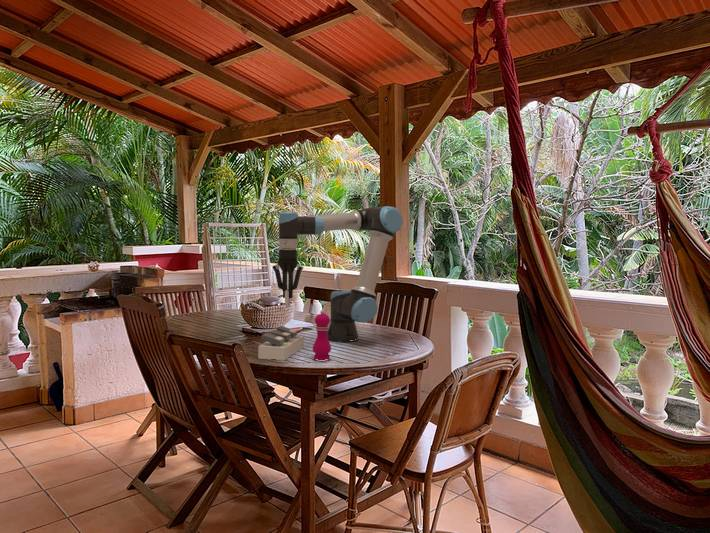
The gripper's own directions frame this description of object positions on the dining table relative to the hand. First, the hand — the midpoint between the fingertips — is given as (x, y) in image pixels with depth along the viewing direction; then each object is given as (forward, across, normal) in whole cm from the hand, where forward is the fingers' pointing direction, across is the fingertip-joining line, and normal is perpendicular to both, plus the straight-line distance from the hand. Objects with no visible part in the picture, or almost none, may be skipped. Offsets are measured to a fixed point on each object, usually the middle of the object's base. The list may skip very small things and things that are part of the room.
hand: (287, 306), depth 225 cm
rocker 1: (+12, -3, -8) cm, 15 cm away
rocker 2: (+13, -3, 0) cm, 13 cm away
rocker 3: (+13, -3, +8) cm, 15 cm away
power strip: (+20, -2, +3) cm, 20 cm away
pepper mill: (+20, +17, -6) cm, 27 cm away
